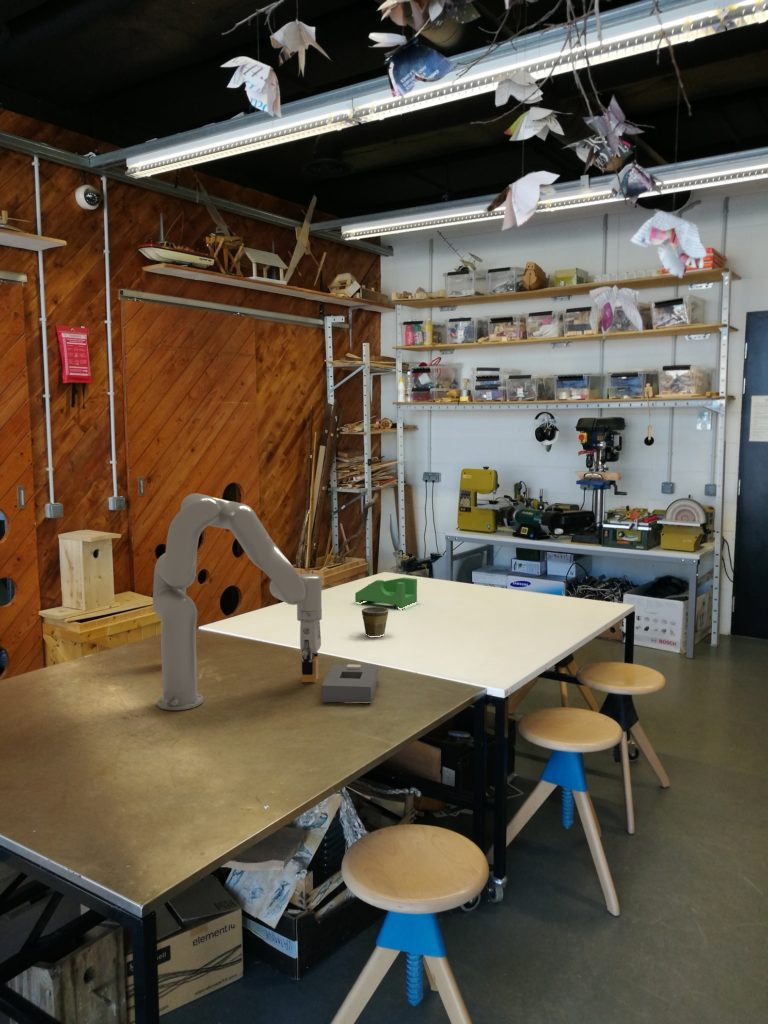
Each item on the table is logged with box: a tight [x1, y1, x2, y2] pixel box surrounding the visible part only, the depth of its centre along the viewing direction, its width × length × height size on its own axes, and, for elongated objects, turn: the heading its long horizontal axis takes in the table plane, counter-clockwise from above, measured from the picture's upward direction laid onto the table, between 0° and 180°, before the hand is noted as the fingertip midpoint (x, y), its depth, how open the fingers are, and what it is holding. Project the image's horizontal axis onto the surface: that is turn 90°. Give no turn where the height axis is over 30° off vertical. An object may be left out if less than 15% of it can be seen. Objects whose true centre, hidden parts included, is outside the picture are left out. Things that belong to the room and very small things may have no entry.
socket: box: [321, 663, 379, 703], centre depth 227 cm, size 20×14×6 cm
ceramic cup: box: [361, 606, 389, 636], centre depth 290 cm, size 13×10×10 cm
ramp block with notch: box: [354, 576, 418, 608], centre depth 341 cm, size 24×13×12 cm, turn 59°
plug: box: [301, 651, 319, 683], centre depth 237 cm, size 4×4×9 cm
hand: (310, 669), depth 237 cm, fingers open, 7 cm apart
